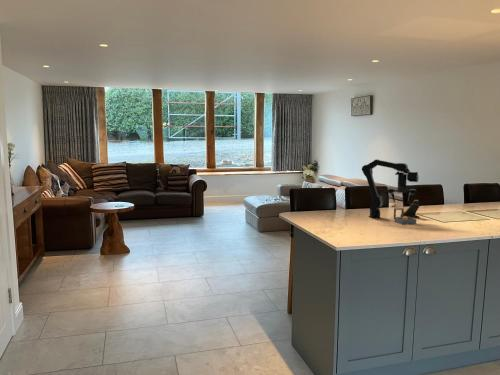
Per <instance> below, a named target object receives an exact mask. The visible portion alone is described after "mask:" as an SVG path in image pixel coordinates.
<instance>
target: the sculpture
mask: <svg viewBox="0 0 500 375" xmlns="http://www.w3.org/2000/svg"><path fill="white" fill-rule="evenodd" d="M419 203H420V201H419V200H418V199H414V200H413V201H412V203H411V204H410V205H409V207H408V208H407V209H406V210H404V216H407V217H411V218H414V219H420V217H421V216H419V215H416V214H417V212H418V210H419V208H420V204H419Z"/></svg>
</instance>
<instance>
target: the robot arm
mask: <svg viewBox="0 0 500 375" xmlns="http://www.w3.org/2000/svg"><path fill="white" fill-rule="evenodd" d="M377 166H380V167H383V168H390V169H393V170H395V171H397V172H396V173H395V174H394V175H397V189H394V188H392V187H391V188H390V187H389V188H388V189H387V194H389V195H391V198H392V201H393V203H394V204H395V203H396V202H395V201H396V200H395V193H404V194H406V193H407V194H408V193H409V194H408V199H407V204H410V201H411V199H412V198H413V196H414V195H416V194H417V189H415V188H409V187H410V186H409V185H407V181H408V182H410V183H418V182H419V177H420V176H419V172H418V171H415V172H412V171H411V170H410V169H409V166H408V165H407V163H404V162H403V163H402V162H390V161H387V160H380V159H374V160H373V161H371V162H369V163H367V164H365V165H363V166H362V167H361V172H362V173H363V175H364V177H365V178H366V181H367V184H368V188H369V190H370V194H371V201H372V204H370V205H369V207H368V208H369V215H368V217H369V218H371V219H381V210H380V208H381V207H382V206H383V205H384V200H383V196H382V195H381V196H380V195H379V193H378V190H377V186H376V183H375V180H374V176H373V172H374V171H373V169H374V168H376V167H377Z"/></svg>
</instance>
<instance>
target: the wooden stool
mask: <svg viewBox="0 0 500 375" xmlns="http://www.w3.org/2000/svg"><path fill="white" fill-rule="evenodd" d="M397 210H398V211H401V214H400V217H404V212H405V209H404V207H401V206H400V207H398V206H395V207H393V220H394V221H395V217H397V214H396V213H397Z"/></svg>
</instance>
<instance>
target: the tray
mask: <svg viewBox="0 0 500 375" xmlns="http://www.w3.org/2000/svg"><path fill="white" fill-rule="evenodd" d="M402 218H403V217H401V216H396V217H395V220H394V222H395V223H397V224H400V225H416V224H417V218H411V217H408V220H402Z"/></svg>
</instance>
